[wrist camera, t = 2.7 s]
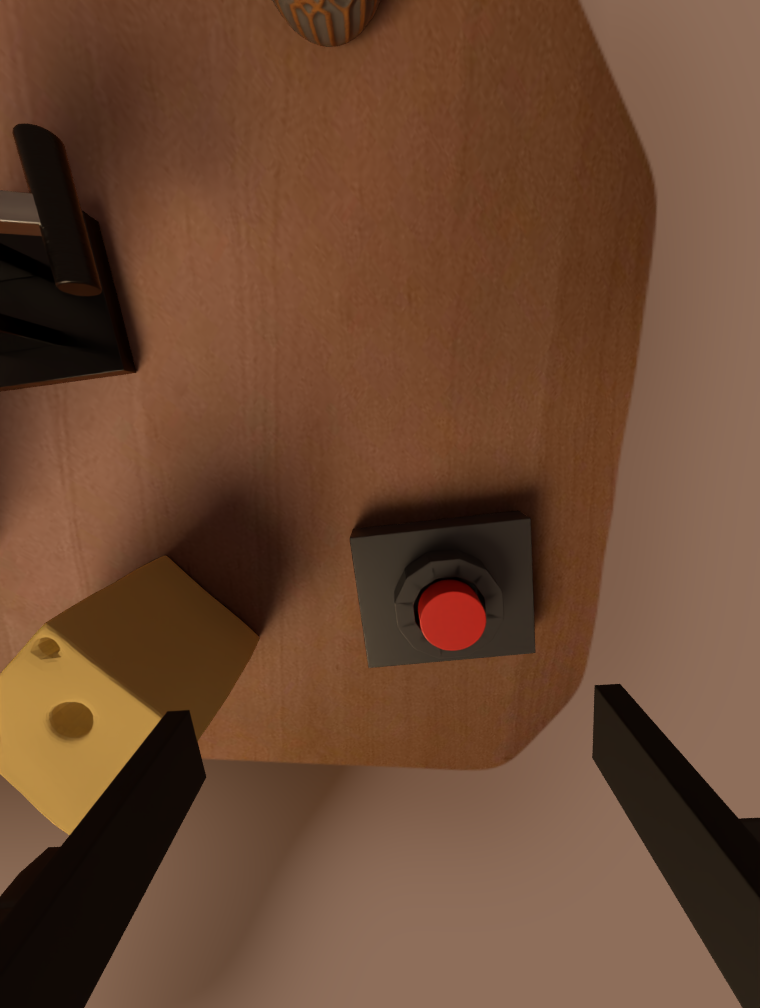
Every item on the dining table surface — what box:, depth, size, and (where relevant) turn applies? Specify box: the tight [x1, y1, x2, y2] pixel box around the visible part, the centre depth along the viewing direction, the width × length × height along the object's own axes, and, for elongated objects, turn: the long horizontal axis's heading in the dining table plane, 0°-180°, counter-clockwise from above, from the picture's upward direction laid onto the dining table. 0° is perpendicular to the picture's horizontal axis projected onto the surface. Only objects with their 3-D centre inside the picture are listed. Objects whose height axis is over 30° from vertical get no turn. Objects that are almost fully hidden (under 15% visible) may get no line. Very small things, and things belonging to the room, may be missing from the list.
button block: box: [350, 511, 535, 668], centre depth 25 cm, size 12×10×4 cm
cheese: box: [0, 556, 259, 835], centre depth 23 cm, size 10×11×10 cm
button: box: [418, 579, 486, 651], centre depth 22 cm, size 4×4×2 cm
